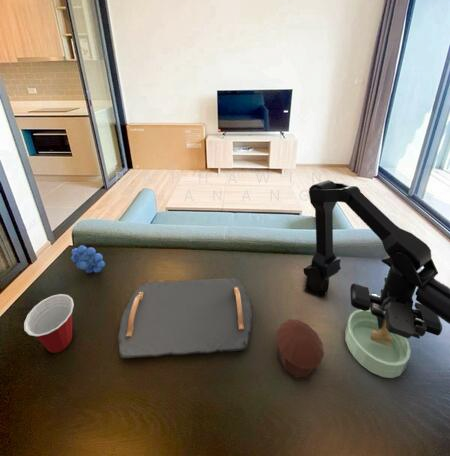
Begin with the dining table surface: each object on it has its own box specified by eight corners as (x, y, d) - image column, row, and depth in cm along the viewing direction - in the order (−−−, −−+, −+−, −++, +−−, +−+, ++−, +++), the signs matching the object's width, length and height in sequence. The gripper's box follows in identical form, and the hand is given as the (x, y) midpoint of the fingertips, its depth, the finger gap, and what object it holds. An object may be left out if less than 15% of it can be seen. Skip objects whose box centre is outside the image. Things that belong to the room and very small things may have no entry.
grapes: (68, 281, 87) (60, 254, 82) (79, 266, 93) (72, 241, 89) (100, 282, 86) (94, 255, 82) (109, 267, 93) (104, 241, 88)
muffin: (265, 352, 66) (268, 327, 62) (291, 327, 72) (295, 303, 68) (302, 397, 57) (308, 371, 53) (328, 364, 63) (335, 339, 60)
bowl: (345, 363, 63) (349, 349, 61) (344, 315, 76) (347, 302, 74) (410, 390, 58) (417, 376, 56) (398, 333, 70) (403, 320, 68)
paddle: (371, 341, 67) (380, 313, 63) (370, 334, 68) (379, 307, 64) (389, 348, 65) (400, 320, 61) (388, 341, 67) (399, 313, 63)
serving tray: (245, 282, 86) (246, 269, 84) (257, 356, 65) (259, 340, 63) (134, 288, 84) (131, 275, 82) (108, 366, 62) (104, 351, 60)
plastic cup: (32, 373, 61) (18, 342, 57) (39, 333, 70) (28, 304, 66) (82, 351, 66) (72, 321, 61) (83, 317, 75) (74, 288, 70)
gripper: (359, 299, 56) (346, 344, 61) (463, 333, 49) (438, 379, 55) (356, 264, 65) (345, 306, 71) (442, 289, 58) (423, 332, 64)
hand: (384, 329), depth 65 cm, fingers closed on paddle, 2 cm apart
